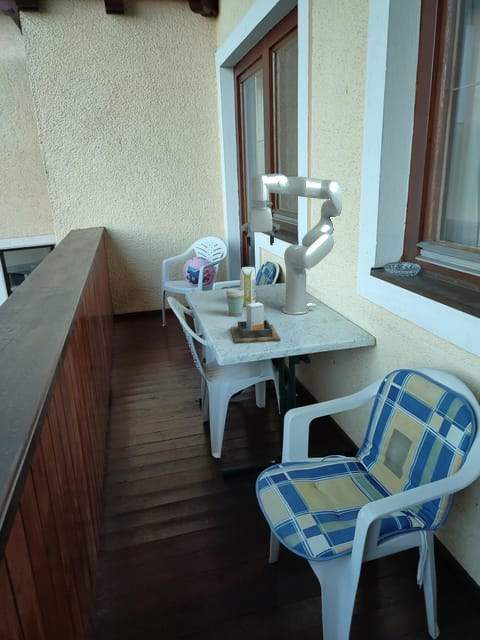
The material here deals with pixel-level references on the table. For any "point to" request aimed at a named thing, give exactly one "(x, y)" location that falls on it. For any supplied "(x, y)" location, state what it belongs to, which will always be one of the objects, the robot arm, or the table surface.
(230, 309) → the coffee cup
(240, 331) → the wooden framed tray
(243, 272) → the juice carton
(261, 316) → the skincare box
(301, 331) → the table surface
